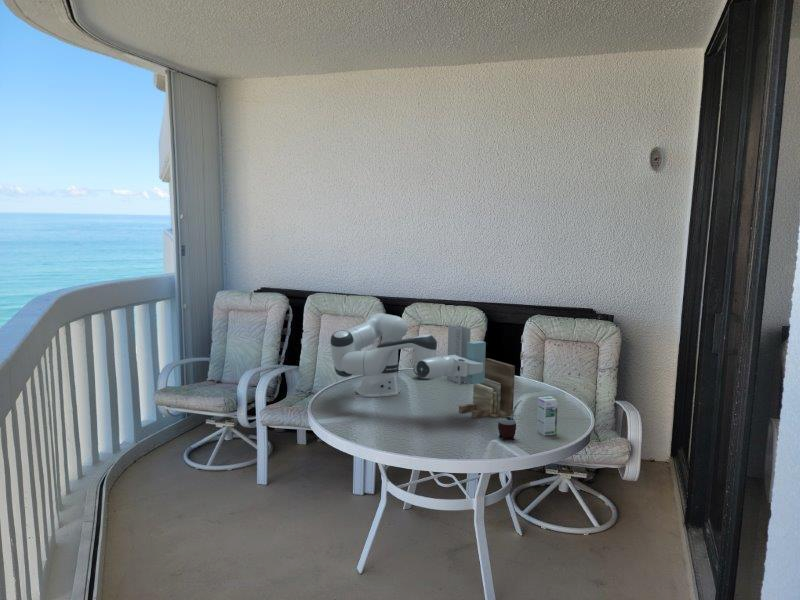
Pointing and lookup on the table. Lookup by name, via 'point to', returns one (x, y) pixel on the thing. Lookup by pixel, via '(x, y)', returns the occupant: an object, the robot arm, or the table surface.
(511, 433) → the mate gourd
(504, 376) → the offcut rack
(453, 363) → the robot arm
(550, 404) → the syrup box
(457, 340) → the brochure
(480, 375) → the light blue tall block
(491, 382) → the offcut stack
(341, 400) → the table surface
